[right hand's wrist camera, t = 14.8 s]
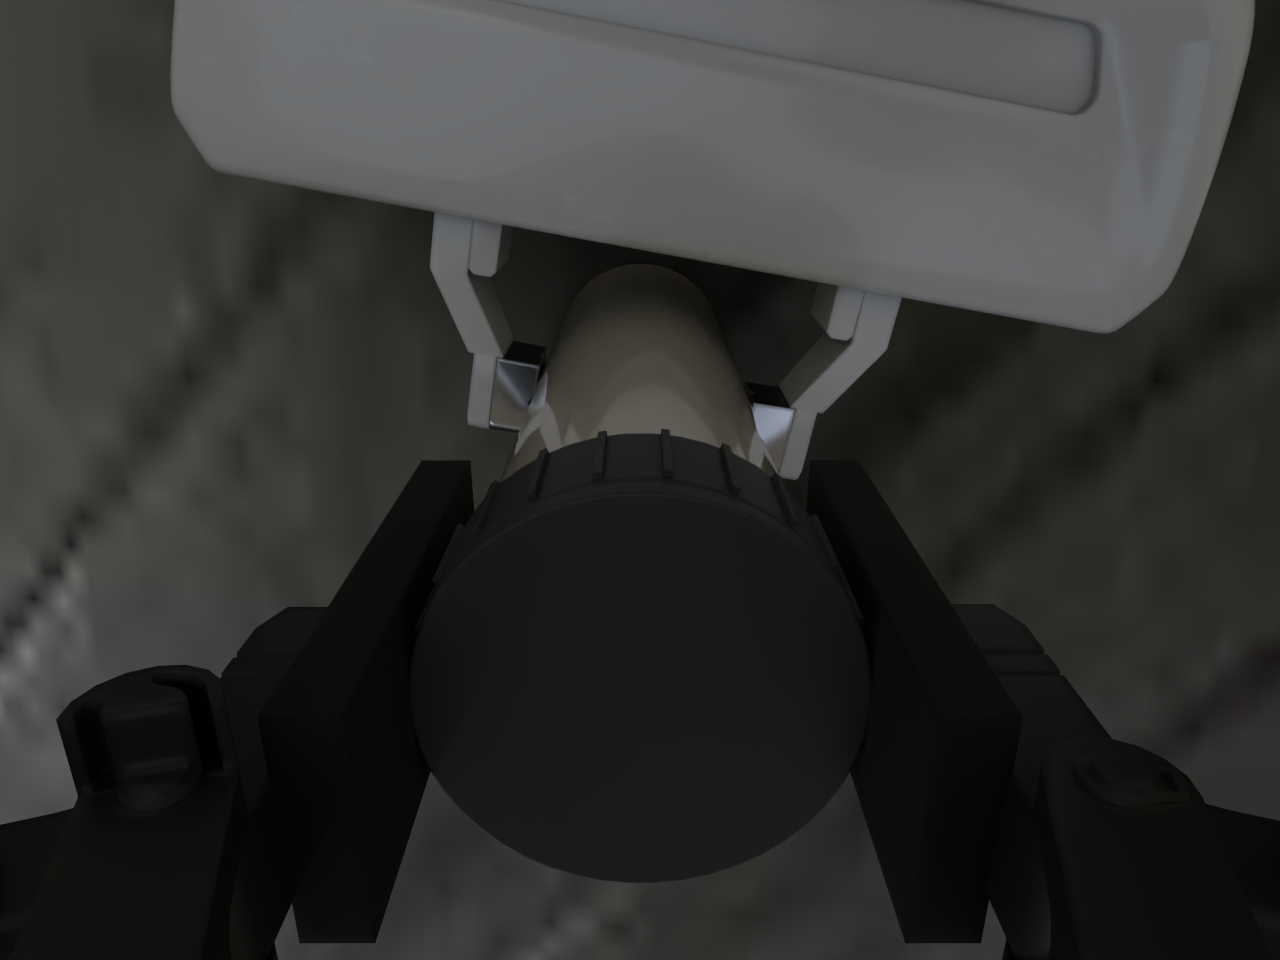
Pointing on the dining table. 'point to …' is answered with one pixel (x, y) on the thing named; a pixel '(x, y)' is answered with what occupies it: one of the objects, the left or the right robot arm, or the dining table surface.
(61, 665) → the dining table surface
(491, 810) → the lid
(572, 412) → the grey cylinder
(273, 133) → the left robot arm
